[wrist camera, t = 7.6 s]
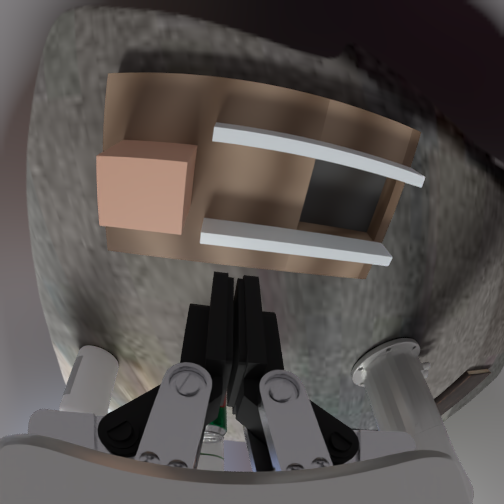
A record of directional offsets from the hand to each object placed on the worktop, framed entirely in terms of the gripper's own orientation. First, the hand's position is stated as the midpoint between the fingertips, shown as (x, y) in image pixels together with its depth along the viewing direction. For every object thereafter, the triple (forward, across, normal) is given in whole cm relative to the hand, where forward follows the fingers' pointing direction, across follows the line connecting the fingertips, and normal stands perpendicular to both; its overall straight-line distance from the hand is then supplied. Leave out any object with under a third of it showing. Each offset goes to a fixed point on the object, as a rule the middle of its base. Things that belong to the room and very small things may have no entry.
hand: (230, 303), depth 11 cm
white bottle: (+16, +17, +29) cm, 38 cm away
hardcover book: (+18, -69, +47) cm, 86 cm away
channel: (+13, -6, -1) cm, 15 cm away
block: (+13, +6, -1) cm, 15 cm away
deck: (+15, -2, -1) cm, 16 cm away
